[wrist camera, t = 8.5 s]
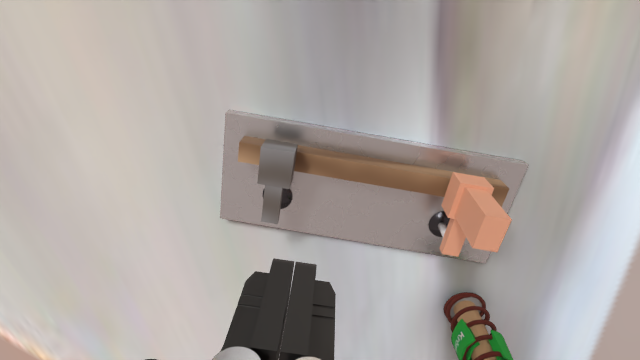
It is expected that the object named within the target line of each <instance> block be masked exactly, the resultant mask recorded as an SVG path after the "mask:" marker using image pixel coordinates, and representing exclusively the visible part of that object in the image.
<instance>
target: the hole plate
mask: <svg viewBox="0 0 640 360" xmlns="http://www.w3.org/2000/svg"><path fill="white" fill-rule="evenodd" d="M244 136H249V137H255V138H261V139H272V140H278V141H283V142H289V143H295V144H298V145H301V146H307V147H313V148H319V149H324V150H330V151H336V152H342V153H348V154H353V155H359V156H365V157H371V158H376V159H382V160H388V161H394V162H400V163H405V164H411V165H417V166H423V167H428V168H434V169H440V170H446V171H452V172H457V173H463V174H469V175H475V176H480V177H486V178H492V179H498V180H502V181H503V183H504V184H505V185H506V186H507V187H508V188H509V191H508V193H507V196H506V198H505V201H504V203H503V205H502V209H503V210H504V211H505V212H506V213H507V214H508V211H509V209H510V207H511V204H512V202H513V200H514V198H515V195H516V193H517V191H518V188H519V186H520V184H521V182H522V179H523V177H524V175H525V172H526V170H527V168H528V166H529V165H528V164H526V163H525V162H524V161H521V160H516V159H510V158H504V157H498V156H493V155H487V154H481V153H475V152H470V151H464V150H458V149H452V148H447V147H441V146H435V145H429V144H424V143H418V142H412V141H406V140H401V139H395V138H389V137H383V136H378V135H372V134H366V133H360V132H355V131H349V130H343V129H337V128H332V127H326V126H320V125H314V124H309V123H303V122H297V121H291V120H286V119H280V118H274V117H268V116H262V115H257V114H251V113H245V112H239V111H234V110H228V111H227V112H226V114H225V133H224V153H223V172H222V191H221V211H220V218H222V219H228V220H234V221H240V222H246V223H251V224H257V225H263V226H269V227H275V228H281V229H287V230H293V231H298V232H304V233H310V234H316V235H322V236H328V237H334V238H340V239H345V240H351V241H357V242H363V243H369V244H375V245H381V246H387V247H393V248H398V249H404V250H410V251H416V252H422V253H428V254H434V255H440V256H445V257H451V258H457V259H463V260H469V261H475V262H481V263H486V262H487V259H488V257H489V255H490V252H491V251H487V250H481V249H475V248H472V247H471V245H470V243H469V241H468V240H467V238H466V239H465V241H464V244H463V246H462V249H461V251H460V254H459V256H458V257H456V256H450V255H444V254H442V253H441V251H440V245H441V242H442V240H443V237H442V234H441V232H440V230H439V228H438V224H439V223H441V222H444V223H445V224H446V226H448V223H449V220H450V218H448V217H447V215H446V213H445V211H444V210H443V208H442V206H441V205H442V202H443V199H444V197H441V196H435V195H430V194H424V193H418V192H412V191H406V190H401V189H395V188H389V187H383V186H377V185H371V184H366V183H360V182H354V181H348V180H342V179H337V178H331V177H325V176H319V175H313V174H308V173H302V172H296V171H294V175H293V180H292V183H291V186H290V189H285V188H283V193H282V201H281V209H280V216H279V221H278V224H272V223H267V222H261V217H262V208H263V199H264V189H265V185H262V184H257V181H258V171H259V165H255V164H249V163H244V162H238V151H239V142H240V140H241V139H242V138H243V137H244Z"/></svg>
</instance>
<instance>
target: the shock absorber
mask: <svg viewBox="0 0 640 360" xmlns="http://www.w3.org/2000/svg"><path fill="white" fill-rule="evenodd" d="M444 313H445V315H446V317H447V318H448V321H449V322H450V323H451V330H452V337H451V340H452V344H453V346H454V349H455V351H456V354H457V356H458V359H459V360H513V358H512V356H511V354H510V351H509V349H508V347H507V345H506V342H505V340H504V338H503V336H502V335H501V334H500V333H498V332H496V327H495V325H494V324H493V323H492V322H490V321H489V319H490V315H489V312H488V311H487V310H486V304H485V302H484V300H483V299H482V298H481V297H480V296H478V295H477V294H474V293H467V292H466V293H459V294H456V295H454V296H452V297H451V298H450V299H448V301H447V302H446V303H445V306H444ZM483 314H485V319H484V320H482V319H481V317H482V316H483ZM485 325H488V326H490V327H491V329H492V330H491V334H490V335H489V334H488V332H487V330H486V327H485Z"/></svg>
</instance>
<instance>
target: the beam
mask: <svg viewBox="0 0 640 360" xmlns="http://www.w3.org/2000/svg"><path fill="white" fill-rule="evenodd" d="M238 162H244V163H249V164H255V165H259V171H258V181H257V184H262V185H265V189H264V199H263V208H262V217H261V222H267V223H272V224H278V221H279V216H280V209H281V201H282V193H283V188H285V189H290V186H291V183H292V180H293V175H294V171H296V172H302V173H308V174H313V175H319V176H325V177H331V178H337V179H342V180H348V181H354V182H360V183H366V184H371V185H377V186H383V187H389V188H395V189H401V190H406V191H412V192H418V193H424V194H430V195H435V196H441V197H444V196H445V193H446V190H447V188H448V185H449V182H450V179H451V176H452V173H453V172H452V171H446V170H440V169H434V168H428V167H423V166H417V165H411V164H405V163H400V162H394V161H388V160H382V159H376V158H371V157H365V156H359V155H353V154H348V153H342V152H336V151H330V150H324V149H319V148H313V147H307V146H301V145H298V144H295V143H289V142H283V141H278V140H272V139H261V138H255V137H249V136H244V137H243V138H242V139H241V140H240V142H239V151H238ZM456 173H457V172H456ZM462 174H463V173H462ZM468 175H469V174H468ZM474 176H475V175H474ZM479 177H480V176H479ZM485 179H486V180H487V181H488V182H489V183H490V184H491V185H492V186H493V188H494V190H493V193H492V197H493V198H494V199H495V200H496V201H497V203H498V204H499V205H500V206H501V207H502V205H503V203H504V201H505V198H506V196H507V193H508V191H509V188H508V187H507V186H506V185H505V184H504V183H503V181H502V180H498V179H492V178H486V177H485Z"/></svg>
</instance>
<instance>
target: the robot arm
mask: <svg viewBox="0 0 640 360" xmlns="http://www.w3.org/2000/svg"><path fill="white" fill-rule="evenodd" d="M293 267H294V261H287V260H280V259H273V262H272V265H271V269H270V273H263V272H256V271H255V272H254V273H253V274H252V275H251V276H250V277H249V278H248V279H247V280H246V282H245V285H244V288H243V290H242V293H241V296H240V299H239V302H238V306H237V308H236V311H235V314H234V316H233V319H232V322H231V325H230V328H229V331H228V334H227V337H226V340H225V342H224V345H223V347H222V349H221V351H220V352H219V353H218V354H217V355H216V356H215V357H214V358H213V359H212V360H278V359H279V360H334V336H335V292H334V290H333V288H332V286H331V284H330V282H324V281H318V280H315V276H316V265H315V264H308V263H301V262H296V264H295V270H294V276H293V281H292V274H293ZM291 282H292V287H291ZM290 289H291V292H290ZM289 296H290V298H289ZM288 302H289V304H288ZM286 314H287V315H286ZM285 320H286V321H285ZM283 331H284V332H283ZM282 337H283V338H282ZM280 348H281V349H280ZM279 354H280V355H279ZM147 360H156V359H147Z"/></svg>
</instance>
